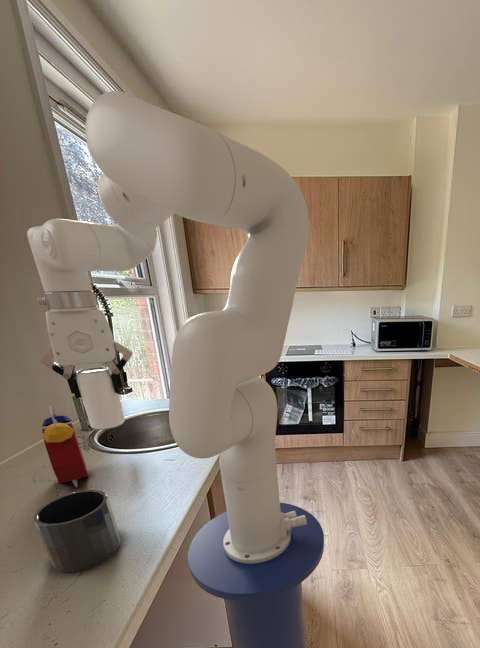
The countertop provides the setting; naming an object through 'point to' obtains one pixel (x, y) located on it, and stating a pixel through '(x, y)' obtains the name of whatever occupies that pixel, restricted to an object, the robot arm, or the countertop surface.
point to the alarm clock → (65, 448)
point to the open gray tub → (78, 530)
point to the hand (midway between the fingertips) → (99, 393)
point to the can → (100, 398)
